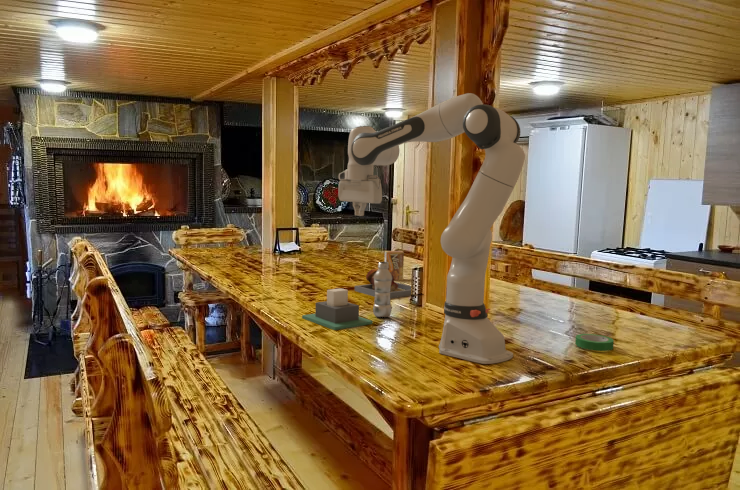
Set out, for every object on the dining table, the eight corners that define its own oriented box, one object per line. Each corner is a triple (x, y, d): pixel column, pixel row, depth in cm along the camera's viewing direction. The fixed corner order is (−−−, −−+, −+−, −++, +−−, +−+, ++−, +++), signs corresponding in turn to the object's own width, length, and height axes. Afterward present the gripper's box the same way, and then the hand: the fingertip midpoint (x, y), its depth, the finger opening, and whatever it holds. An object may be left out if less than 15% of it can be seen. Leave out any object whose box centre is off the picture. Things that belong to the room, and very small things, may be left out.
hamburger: (379, 295, 251) (380, 272, 250) (359, 291, 260) (360, 269, 259) (404, 291, 262) (404, 269, 261) (384, 287, 271) (384, 266, 270)
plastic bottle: (389, 319, 207) (391, 264, 205) (371, 318, 208) (372, 263, 206) (392, 315, 213) (394, 261, 211) (374, 314, 215) (376, 260, 213)
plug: (347, 315, 203) (347, 290, 202) (333, 317, 200) (333, 291, 199) (340, 313, 207) (341, 288, 206) (326, 315, 203) (327, 289, 202)
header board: (372, 323, 201) (372, 306, 200) (334, 330, 191) (335, 312, 190) (338, 312, 216) (338, 296, 215) (302, 318, 206) (302, 301, 205)
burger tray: (422, 295, 254) (423, 288, 254) (384, 300, 240) (384, 293, 240) (392, 287, 270) (392, 281, 269) (354, 292, 256) (354, 285, 256)
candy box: (400, 281, 289) (401, 250, 287) (403, 282, 285) (404, 251, 283) (383, 281, 287) (384, 250, 285) (385, 283, 283) (386, 251, 281)
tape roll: (575, 339, 188) (576, 331, 188) (612, 344, 184) (613, 335, 184) (574, 348, 178) (575, 340, 177) (613, 353, 174) (614, 344, 173)
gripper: (387, 175, 191) (385, 217, 193) (350, 175, 207) (349, 213, 208) (372, 175, 187) (371, 217, 189) (335, 174, 203) (334, 214, 204)
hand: (359, 215), depth 199 cm, fingers closed
